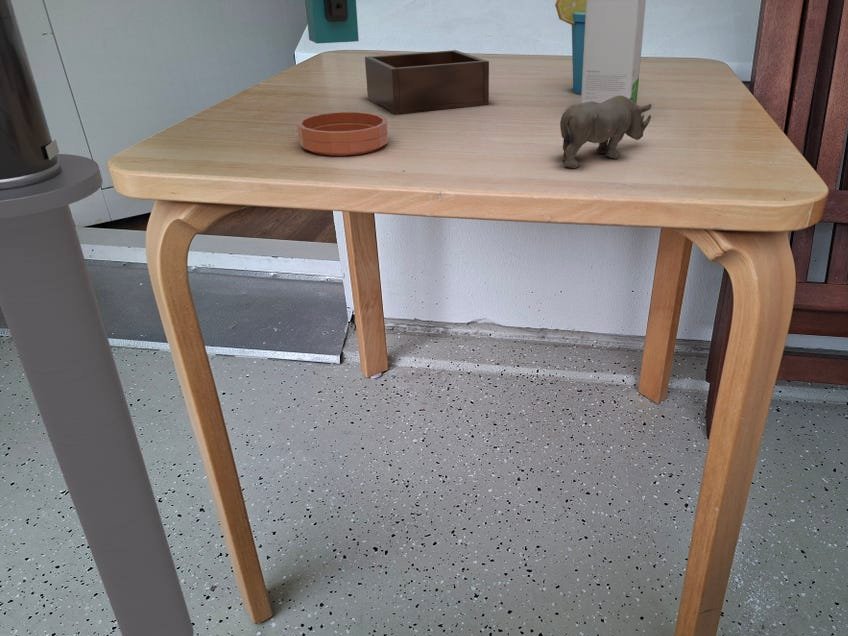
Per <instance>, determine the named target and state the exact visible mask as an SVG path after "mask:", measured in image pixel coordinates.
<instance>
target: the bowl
mask: <svg viewBox="0 0 848 636" xmlns="http://www.w3.org/2000/svg"><path fill="white" fill-rule="evenodd" d="M296 127H297V136H298V142H299V145H300V147H302V148H303V149H304V150H306V151H309V152H311V153H314V154H316V155H322V156H333V157H334V156H335V157H336V156H337V157H342V156H343V157H344V156H346V157H347V156H356V155H362V154H368V153H371V152H375V151H377V150H379V149H381V148H382V147H383V146H385V145H387V144H388V142H389V130H388V118H386V117H384V116H383V115H381V114H378V113H372V112H365V111H332V112H322V113H318V114H313V115H309V116H307V117H304V118H301V119H300V120H299V121H298V122H297V124H296Z"/></svg>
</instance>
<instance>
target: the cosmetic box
mask: <svg viewBox="0 0 848 636" xmlns="http://www.w3.org/2000/svg"><path fill="white" fill-rule="evenodd" d="M646 2H647V0H586V18H585V37H584V55H583V74H582V93H581V94H580V104H581V103H585V102H590V101H593V102H597V103H602V102H604V101H606V100H608V99H611V98H613V97H615V96H624V97H627V98H628V99H630V98H631V97H632V98H633V99H634V103H635V104H636V105H638V94H639V82H640V71H641V70H640V69H641V61H642V59H641V58H642V51H643V49H642V48H643V38H644V37H643V35H644V26H645V25H644V24H645V13H646Z"/></svg>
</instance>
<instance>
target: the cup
mask: <svg viewBox="0 0 848 636" xmlns="http://www.w3.org/2000/svg"><path fill="white" fill-rule="evenodd" d="M555 9H556V12H557V16H558V19H559V20H561V21H562V22H565V23H566V24H568V25H571V51H572V52H571V53H572V55H571V56H572V91H573V92H574V93H575V94H578V95H581V93H582V74H583V55H584V37H585V18H586V0H556V2H555Z"/></svg>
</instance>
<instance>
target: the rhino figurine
mask: <svg viewBox="0 0 848 636" xmlns="http://www.w3.org/2000/svg"><path fill="white" fill-rule="evenodd" d="M652 107H653V104H652V103H649V104H646V105H642V106H641V105H639V104H637V105H636V104H635V103H634V99H633V98H632V97H631V98H630V99H628V98H627V97H624V96H615V97H613V98H611V99H608V100H606V101H604V102H602V103H597V102H593V101H590V102H585V103H581V102H580V103H577V104H574V105H571V106H570V107H568V108H566V110H565V111H564V112H563V113H562V115H561V118H560V122H559V127H560V128H559V129H560V134H561V138H562V140H563V141H562V150H563V154H562V156H561V159H562V161H564V162H563V166H564V167H565V168H572V169H573V168H574V169H575V168H577V167H580V163H579V161H578V160H577V157H576V156H577V153H578V152H579V151H580V149H581V148H582V147H583V146H584V145H585V144H586V143H587V142H588V143H591V144H598V147H597V148H596V152H597V153H599V154H605V156H607V157H608V158H611V159H619V158H620V157H621V153H620V152H619V151H618V150H617V146H618V145H619V143H620V142H621V141H622V139H623V138H624V136H625V135H626V136H628V137H630V138H631V139H632V140H636V141H639V140H641V138H643V137H644V132H645V130H646V129H647V127H648V125H649V123H650V122H651V119H652V115H651V114H649V115H648V116H647V118H646V119H645V120H644V118H645V114H643V113H645V112H648V111H650V110H651V108H652Z"/></svg>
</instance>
